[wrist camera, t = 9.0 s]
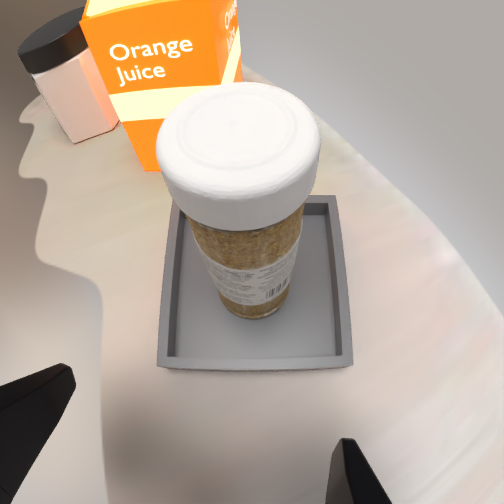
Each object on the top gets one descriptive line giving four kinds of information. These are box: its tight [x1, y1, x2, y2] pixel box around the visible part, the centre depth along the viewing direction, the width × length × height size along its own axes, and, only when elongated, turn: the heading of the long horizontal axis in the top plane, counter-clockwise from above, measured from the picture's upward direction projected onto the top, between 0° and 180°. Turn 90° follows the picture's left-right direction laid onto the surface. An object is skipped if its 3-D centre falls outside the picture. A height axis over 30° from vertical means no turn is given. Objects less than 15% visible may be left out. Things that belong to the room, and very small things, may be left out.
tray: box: [157, 195, 353, 371], centre depth 20 cm, size 11×11×2 cm
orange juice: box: [79, 0, 242, 171], centre depth 18 cm, size 8×9×20 cm
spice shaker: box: [156, 82, 321, 319], centre depth 14 cm, size 5×5×14 cm
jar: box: [18, 7, 120, 144], centre depth 24 cm, size 9×8×12 cm
